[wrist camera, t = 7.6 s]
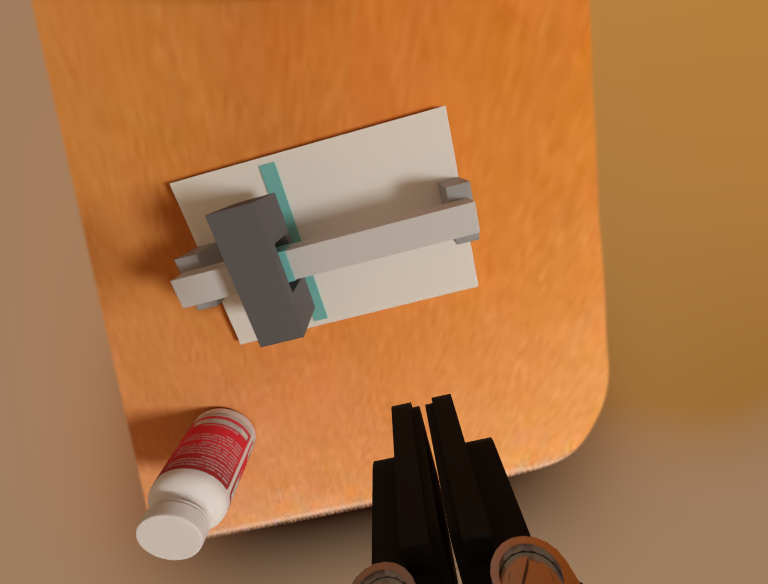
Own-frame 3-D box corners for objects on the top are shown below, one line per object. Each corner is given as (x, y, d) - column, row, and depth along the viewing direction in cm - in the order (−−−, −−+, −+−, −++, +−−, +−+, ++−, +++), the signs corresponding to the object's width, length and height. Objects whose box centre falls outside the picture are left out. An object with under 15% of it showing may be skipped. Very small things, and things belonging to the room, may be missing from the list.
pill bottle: (186, 408, 37) (111, 510, 26) (250, 402, 37) (199, 503, 26) (202, 458, 39) (140, 571, 29) (262, 453, 39) (221, 565, 29)
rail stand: (174, 182, 29) (121, 192, 23) (443, 106, 28) (462, 95, 22) (243, 340, 34) (214, 382, 28) (476, 283, 33) (498, 314, 27)
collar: (234, 203, 27) (204, 215, 22) (274, 192, 27) (253, 202, 22) (278, 316, 30) (260, 347, 26) (315, 307, 30) (303, 336, 25)
